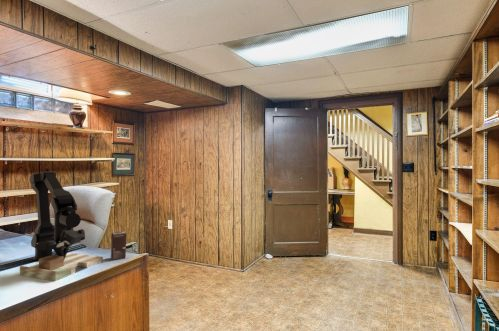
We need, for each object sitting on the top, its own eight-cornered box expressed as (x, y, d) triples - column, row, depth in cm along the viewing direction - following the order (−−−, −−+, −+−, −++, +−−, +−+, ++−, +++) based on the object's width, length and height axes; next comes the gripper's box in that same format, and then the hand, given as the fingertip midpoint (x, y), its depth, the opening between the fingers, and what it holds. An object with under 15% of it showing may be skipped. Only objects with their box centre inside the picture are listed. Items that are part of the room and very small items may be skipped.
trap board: (19, 275, 119) (19, 266, 119) (71, 256, 142) (71, 249, 142) (55, 281, 114) (55, 271, 114) (102, 261, 137) (102, 253, 137)
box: (112, 260, 138) (112, 234, 138) (110, 257, 142) (111, 232, 142) (126, 258, 142) (126, 232, 142) (124, 255, 146) (124, 231, 145)
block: (38, 269, 120) (38, 259, 120) (52, 264, 126) (52, 254, 126) (50, 271, 119) (50, 260, 119) (63, 266, 124) (63, 256, 124)
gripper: (58, 230, 116) (57, 271, 116) (95, 221, 134) (94, 256, 134) (35, 228, 119) (35, 267, 119) (74, 219, 137) (74, 254, 137)
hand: (62, 261), depth 127 cm, fingers closed
